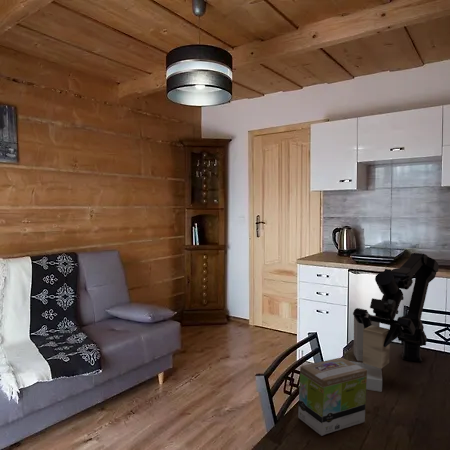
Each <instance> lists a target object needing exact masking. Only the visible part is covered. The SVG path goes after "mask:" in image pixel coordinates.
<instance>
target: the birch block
mask: <svg viewBox="0 0 450 450" xmlns="http://www.w3.org/2000/svg"><path fill="white" fill-rule="evenodd" d="M389 329H390V328H387V327H386V328H385V327H381V326H380V327H378V326H374V325H371V326H369V327H367V328H365V329H363V361H362V363H364V364H368V365H371V366H374V367H377V368H382V369H383V368H384V367H385V366H387V365H388V364H389V363H390V349H391V348H390V347H391V346H390V345H391V343H390V344H389V345H387V346H386V347H384V346H383V345H384V341H385V339H386V336H387V334H388V332H389Z"/></svg>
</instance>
